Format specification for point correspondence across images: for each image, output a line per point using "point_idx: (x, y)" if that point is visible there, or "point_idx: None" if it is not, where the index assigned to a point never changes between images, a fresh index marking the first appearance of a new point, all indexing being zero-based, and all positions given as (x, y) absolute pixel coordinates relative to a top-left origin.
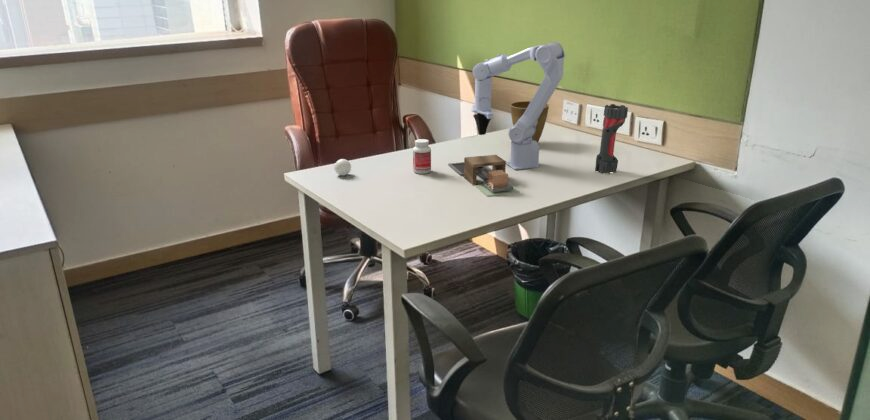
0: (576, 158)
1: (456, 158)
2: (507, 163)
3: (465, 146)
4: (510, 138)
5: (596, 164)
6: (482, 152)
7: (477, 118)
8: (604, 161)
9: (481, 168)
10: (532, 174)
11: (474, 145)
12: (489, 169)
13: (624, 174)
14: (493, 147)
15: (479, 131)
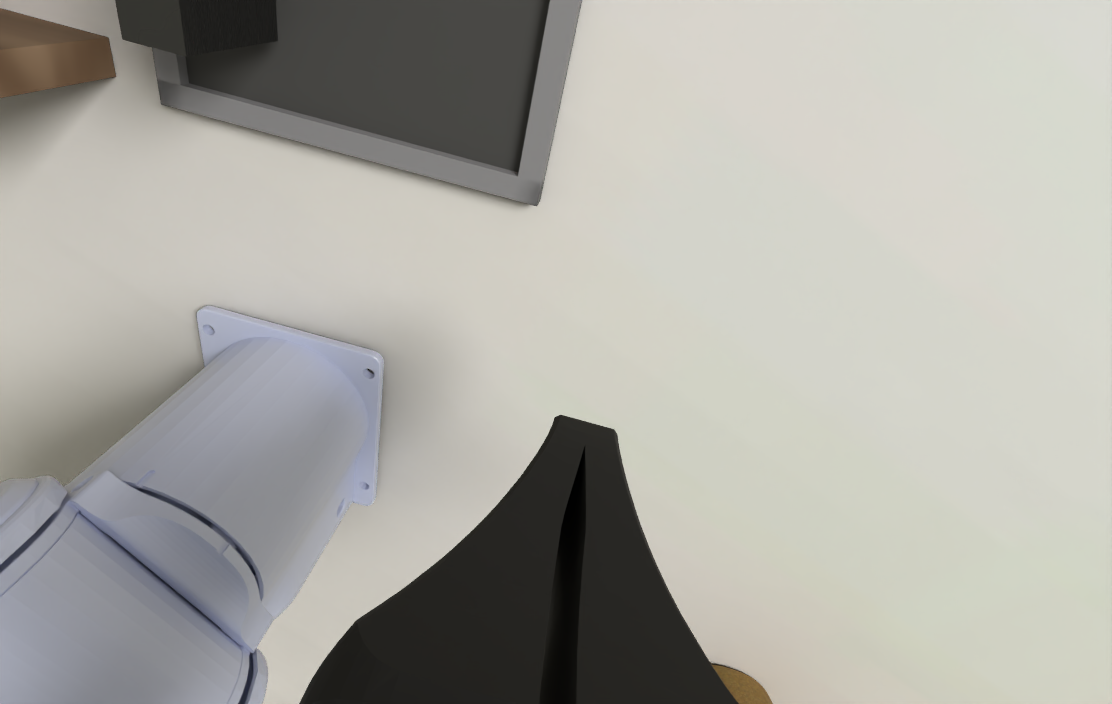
0: None
1: (830, 55)
2: (344, 348)
3: (1089, 425)
4: (22, 491)
5: None
6: (787, 415)
7: (399, 647)
8: None
9: (310, 61)
10: (87, 333)
11: (1024, 496)
12: (213, 94)
13: None
14: (830, 552)
15: (549, 444)
